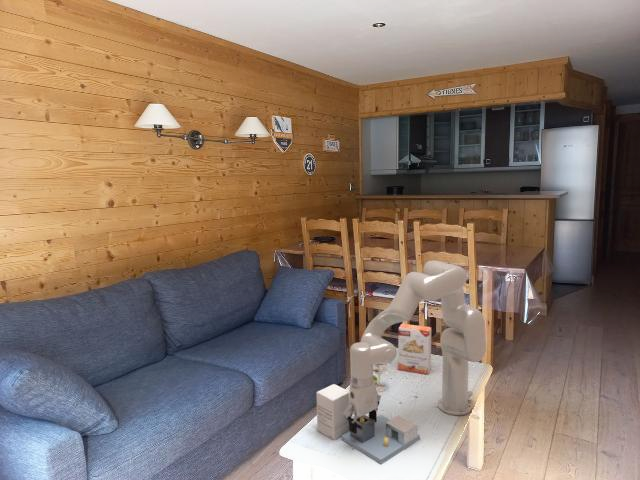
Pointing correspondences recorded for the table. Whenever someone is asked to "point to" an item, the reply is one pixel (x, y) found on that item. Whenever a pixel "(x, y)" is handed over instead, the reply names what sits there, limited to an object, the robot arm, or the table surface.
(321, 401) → the supplement box
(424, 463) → the table surface
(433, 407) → the table surface
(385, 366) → the wineglass
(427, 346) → the cracker box
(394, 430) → the housing cover
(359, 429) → the block
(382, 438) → the assembly board
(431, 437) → the table surface
